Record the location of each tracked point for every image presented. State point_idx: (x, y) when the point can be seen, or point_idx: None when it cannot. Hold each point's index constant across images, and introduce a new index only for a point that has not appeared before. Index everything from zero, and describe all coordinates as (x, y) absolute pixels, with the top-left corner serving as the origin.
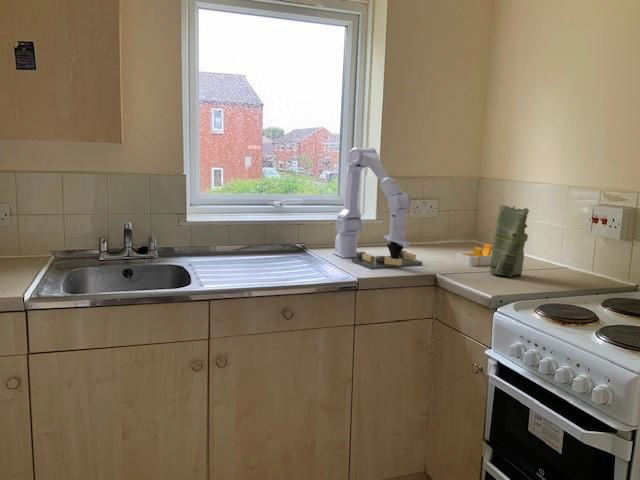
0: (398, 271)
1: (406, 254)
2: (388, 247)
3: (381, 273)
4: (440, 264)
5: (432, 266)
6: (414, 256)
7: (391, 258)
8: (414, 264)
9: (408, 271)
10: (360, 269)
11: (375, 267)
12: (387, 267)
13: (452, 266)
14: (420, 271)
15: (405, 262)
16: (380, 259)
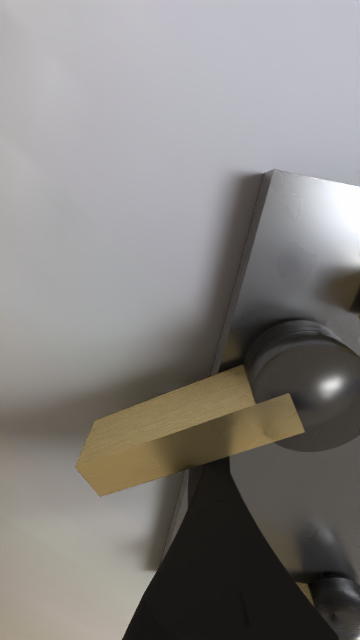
0: (56, 343)
1: None
2: (293, 598)
3: (32, 127)
4: (125, 623)
5: (102, 580)
6: None
7: (171, 433)
8: (167, 543)
9: (30, 404)
10: (323, 26)
11: (247, 241)
12: (214, 364)
13: (64, 629)
14: (5, 463)
15: None
16: (277, 353)
